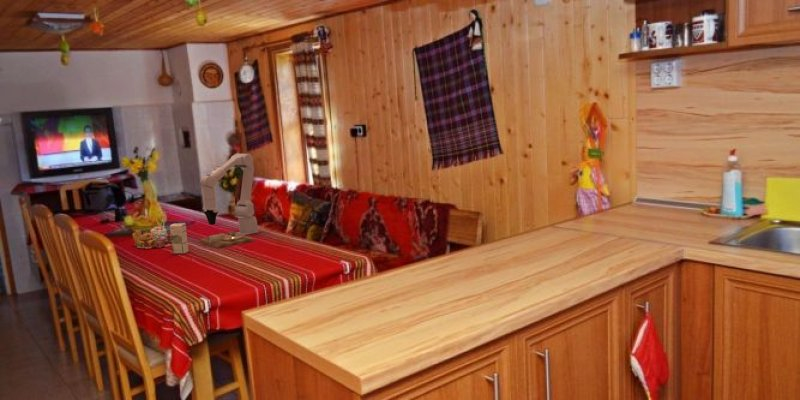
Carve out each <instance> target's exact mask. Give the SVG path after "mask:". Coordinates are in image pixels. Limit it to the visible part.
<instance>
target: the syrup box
mask: <svg viewBox="0 0 800 400" xmlns="http://www.w3.org/2000/svg"><path fill="white" fill-rule="evenodd" d="M169 231H170V232H171V240H172V245H171V247H172V248H171V249H172V254H173V255H182V254H183V255H184V254H186V253H188V252H189V245H188V235H187V226H186V222H179V223H178V222H177V223H175V222H174V223H172V224H170V225H169Z"/></svg>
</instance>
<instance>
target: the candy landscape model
mask: <svg viewBox="0 0 800 400" xmlns="http://www.w3.org/2000/svg"><path fill="white" fill-rule="evenodd" d="M132 239H133V241H134V242H135V244H134V245H133V246H134V247H137V248H138V249H146V250H147V249H152V250H153V249H155V248H156V249H157V248H159V249H161V248H162V249H163V248H166V247H170V246H171V247H172V240H171V232H170V230H169V231H168V230H167V229H165V228H162V226H155V227H154V228H151V229H150V230H149V231H147V230H146V231H144V232H143V233H142V230H140V229H137V230H134V232H133V233H132Z"/></svg>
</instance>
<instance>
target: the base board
mask: <svg viewBox="0 0 800 400" xmlns="http://www.w3.org/2000/svg"><path fill="white" fill-rule="evenodd" d="M234 232H235V231H234ZM224 234H225V235H228V233H224ZM235 234H239V233H237V232H235ZM199 242H200V243H202V244H205V245H207V246H210V247H213V248H215V249H222V248H228V247H232V246H236V245H237V246H238V245H241V244H246V243H247V244H248V243H252V242H255V238H254V237H251V236H247V235H243V238H241V239H239V240H233V241H232V242H229V241H218V242H213V243H209V237H204V238H200V239H199Z"/></svg>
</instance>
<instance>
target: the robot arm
mask: <svg viewBox="0 0 800 400" xmlns="http://www.w3.org/2000/svg"><path fill="white" fill-rule="evenodd" d="M235 166H237V167H238V168H240V169H241V170H242V172H243V174H242V179H241V181H242V182H241V190H240V199H239V200H238V201H237V202H236V207H235V208H234V214H235V215H236V217H237V218H238V219H237V221H238V228H239V229H238V230H239V232H238V231H237V232H236V233H239V234H242V235H245V236H247V235H252V234H256V233H259V230H258V229H259V228H258V220H257V217H256V216H255V215H254V214H255V209H254V203H253V202H252V200H251V199H252V189H253V183H254V171H255V167H254V157H253V156H252V155H251V154H250V153H239V152H237V153H234V154H233V155H232V156H231V157H230V158H229V159H228V160H227V161H226V162H225V163H223V164H222V165H221V166H219V167H213V170H211V171H210V172H208V173H206V175H203V176H201V178H200V181H199V186H201V189H202V195H203V196H202V197H203V203H204V205H203V206H202V210H204V211H203V213H204V215H205V216H206V219H207V222H208V225H210V226H213V225H216V222H217V221H216V220H217V217H218V216H217V215H218V214H219V208H218V207H217V204H216V203H217V201H216V192H215V186H216V184H217V182H218V181H220V180H221V179H222V178H223V177H224V176H225V173H226V172H228V171H229V170H230V169H231V168H234V167H235Z"/></svg>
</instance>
